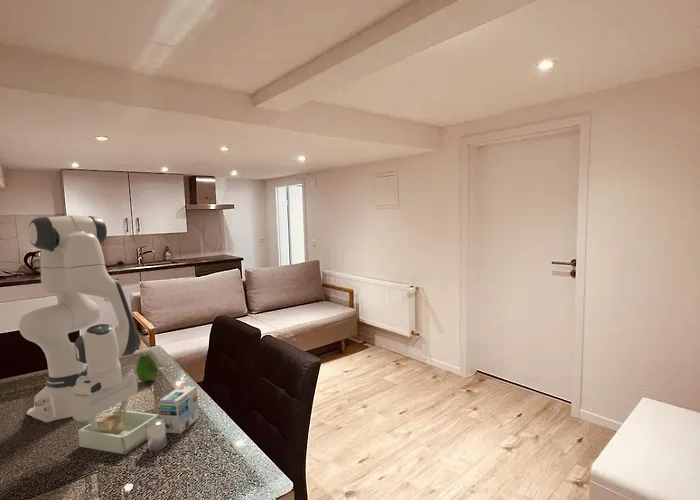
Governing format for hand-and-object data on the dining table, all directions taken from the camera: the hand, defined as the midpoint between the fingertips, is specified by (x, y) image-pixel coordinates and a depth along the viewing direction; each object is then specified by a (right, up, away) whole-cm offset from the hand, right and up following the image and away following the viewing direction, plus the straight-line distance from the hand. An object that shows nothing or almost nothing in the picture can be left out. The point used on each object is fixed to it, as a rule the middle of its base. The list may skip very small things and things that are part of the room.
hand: (109, 420), depth 125 cm
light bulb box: (+20, -4, +5) cm, 21 cm away
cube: (0, -4, 0) cm, 4 cm away
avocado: (-10, -2, +44) cm, 45 cm away
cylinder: (+18, -5, -6) cm, 20 cm away
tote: (+4, -5, -1) cm, 6 cm away
